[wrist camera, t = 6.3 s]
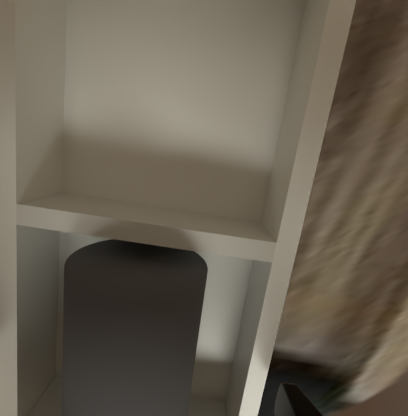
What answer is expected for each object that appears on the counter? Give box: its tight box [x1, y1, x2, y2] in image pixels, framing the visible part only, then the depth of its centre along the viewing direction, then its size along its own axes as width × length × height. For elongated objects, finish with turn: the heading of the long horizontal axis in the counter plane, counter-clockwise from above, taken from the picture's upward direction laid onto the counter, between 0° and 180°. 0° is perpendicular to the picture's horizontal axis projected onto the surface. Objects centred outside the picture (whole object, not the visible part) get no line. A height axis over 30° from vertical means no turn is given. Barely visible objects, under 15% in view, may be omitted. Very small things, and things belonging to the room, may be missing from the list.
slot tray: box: [0, 0, 356, 416], centre depth 9 cm, size 16×8×3 cm, turn 172°
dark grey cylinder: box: [61, 239, 208, 416], centre depth 8 cm, size 6×4×4 cm, turn 173°
